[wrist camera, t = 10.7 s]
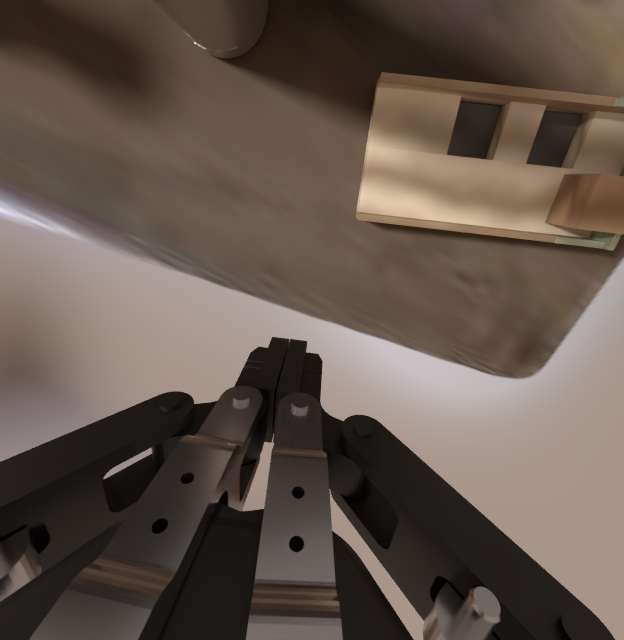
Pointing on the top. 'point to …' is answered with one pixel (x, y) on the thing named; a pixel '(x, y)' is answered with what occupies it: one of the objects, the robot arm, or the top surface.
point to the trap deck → (484, 156)
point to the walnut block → (589, 203)
